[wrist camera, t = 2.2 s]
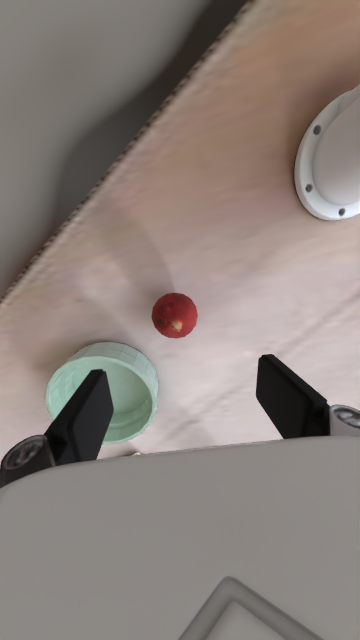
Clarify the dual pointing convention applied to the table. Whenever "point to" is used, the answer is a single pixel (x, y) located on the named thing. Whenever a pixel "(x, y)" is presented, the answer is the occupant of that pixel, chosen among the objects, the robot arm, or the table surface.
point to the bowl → (124, 381)
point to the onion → (174, 315)
